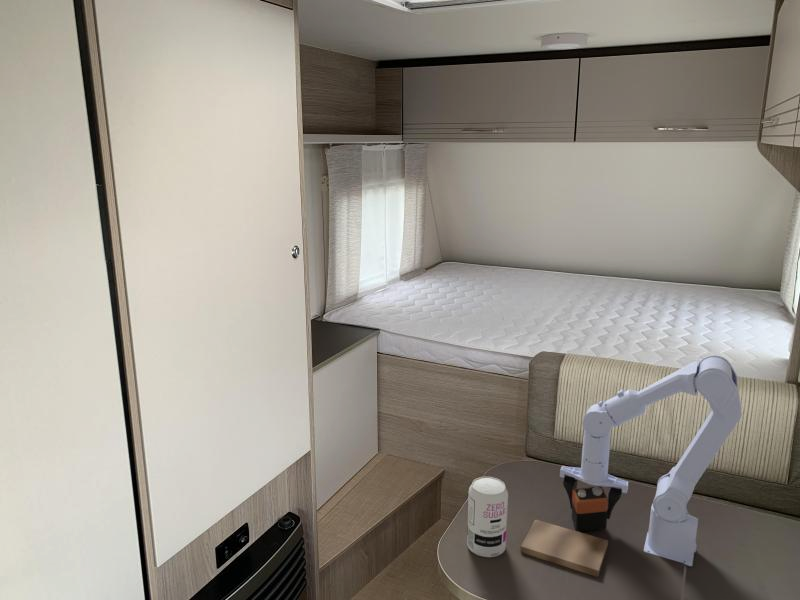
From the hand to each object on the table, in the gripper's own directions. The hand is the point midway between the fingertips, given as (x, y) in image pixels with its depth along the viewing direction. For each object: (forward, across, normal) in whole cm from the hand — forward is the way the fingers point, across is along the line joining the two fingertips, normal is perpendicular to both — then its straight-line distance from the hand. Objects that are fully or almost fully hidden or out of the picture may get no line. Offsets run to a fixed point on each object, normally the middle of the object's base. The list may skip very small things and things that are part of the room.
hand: (590, 511), depth 134 cm
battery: (+3, 0, +1) cm, 3 cm away
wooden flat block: (+3, +3, +12) cm, 12 cm away
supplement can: (+4, +18, +19) cm, 26 cm away
